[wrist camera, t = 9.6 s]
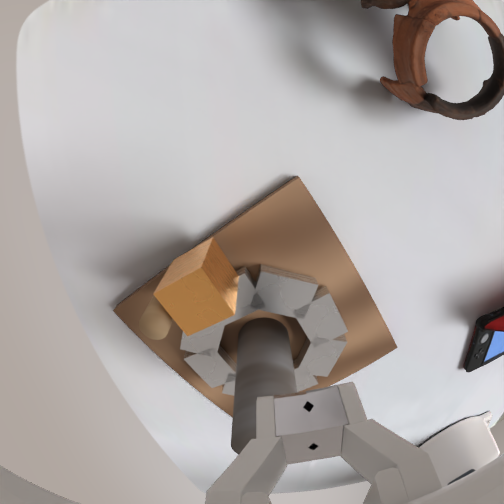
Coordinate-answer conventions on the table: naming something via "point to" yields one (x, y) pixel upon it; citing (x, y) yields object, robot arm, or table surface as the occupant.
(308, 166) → the table surface
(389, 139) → the table surface
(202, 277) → the flange
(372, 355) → the post base
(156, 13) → the table surface
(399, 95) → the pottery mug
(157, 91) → the table surface
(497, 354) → the handheld game console
